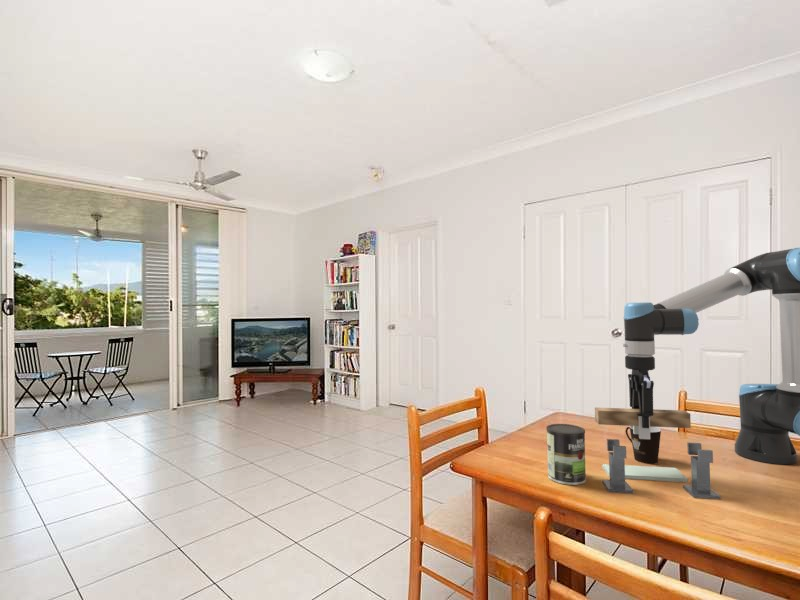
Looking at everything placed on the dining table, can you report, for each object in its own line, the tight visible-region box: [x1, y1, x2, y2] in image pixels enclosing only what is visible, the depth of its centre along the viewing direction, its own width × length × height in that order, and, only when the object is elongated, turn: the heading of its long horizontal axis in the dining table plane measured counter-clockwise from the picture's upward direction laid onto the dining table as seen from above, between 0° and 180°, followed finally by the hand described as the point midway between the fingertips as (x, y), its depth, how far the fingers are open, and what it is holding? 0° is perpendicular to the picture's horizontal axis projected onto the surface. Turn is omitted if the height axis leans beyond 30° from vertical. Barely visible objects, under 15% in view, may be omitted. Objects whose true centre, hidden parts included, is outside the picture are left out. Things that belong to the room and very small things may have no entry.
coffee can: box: [545, 423, 587, 486], centre depth 120 cm, size 10×10×14 cm
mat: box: [601, 463, 689, 483], centre depth 121 cm, size 20×8×1 cm, turn 79°
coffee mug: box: [625, 426, 662, 465], centre depth 134 cm, size 12×9×10 cm
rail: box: [594, 407, 692, 429], centre depth 122 cm, size 24×4×4 cm, turn 79°
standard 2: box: [682, 442, 722, 500], centre depth 109 cm, size 6×6×12 cm
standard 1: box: [601, 438, 634, 495], centre depth 113 cm, size 6×6×12 cm
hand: (641, 436), depth 122 cm, fingers closed on rail, 4 cm apart
